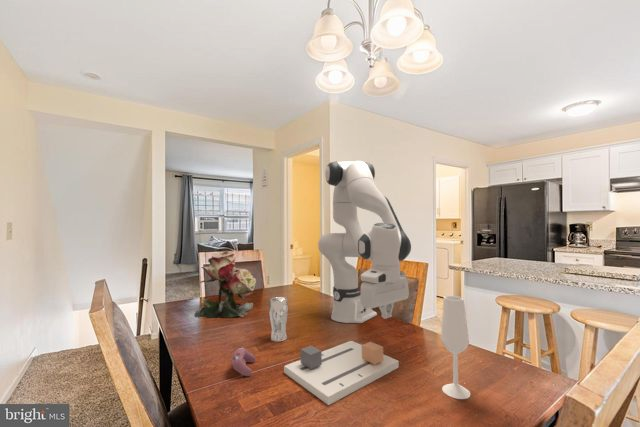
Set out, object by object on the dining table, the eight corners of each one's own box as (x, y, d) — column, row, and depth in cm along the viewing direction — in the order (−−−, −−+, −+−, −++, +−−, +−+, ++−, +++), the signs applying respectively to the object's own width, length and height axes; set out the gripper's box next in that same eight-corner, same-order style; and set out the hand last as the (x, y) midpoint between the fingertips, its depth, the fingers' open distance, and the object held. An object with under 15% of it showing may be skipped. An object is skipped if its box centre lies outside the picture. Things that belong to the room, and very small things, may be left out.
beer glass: (284, 342, 107) (284, 301, 108) (266, 341, 109) (266, 301, 109) (290, 335, 114) (289, 297, 114) (273, 334, 115) (273, 296, 116)
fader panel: (351, 346, 104) (351, 340, 104) (398, 367, 88) (398, 360, 88) (284, 372, 86) (284, 365, 86) (328, 405, 70) (328, 396, 70)
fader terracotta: (370, 354, 91) (370, 341, 92) (383, 360, 88) (383, 346, 88) (361, 358, 89) (361, 345, 89) (374, 364, 85) (374, 350, 85)
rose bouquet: (252, 318, 136) (252, 253, 137) (190, 318, 136) (190, 254, 137) (263, 302, 162) (262, 248, 163) (210, 303, 162) (210, 249, 163)
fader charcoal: (311, 358, 89) (311, 345, 89) (321, 364, 85) (321, 350, 85) (300, 362, 87) (300, 349, 87) (310, 369, 83) (310, 354, 83)
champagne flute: (462, 383, 79) (459, 294, 80) (476, 398, 72) (473, 301, 73) (437, 384, 79) (435, 295, 79) (449, 399, 72) (446, 301, 73)
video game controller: (244, 366, 93) (234, 347, 93) (257, 359, 94) (247, 340, 93) (238, 383, 83) (226, 362, 83) (252, 375, 84) (241, 354, 84)
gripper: (397, 269, 102) (398, 309, 102) (356, 275, 89) (357, 321, 89) (413, 271, 97) (414, 313, 97) (372, 278, 84) (373, 327, 84)
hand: (386, 317), depth 93 cm, fingers closed
